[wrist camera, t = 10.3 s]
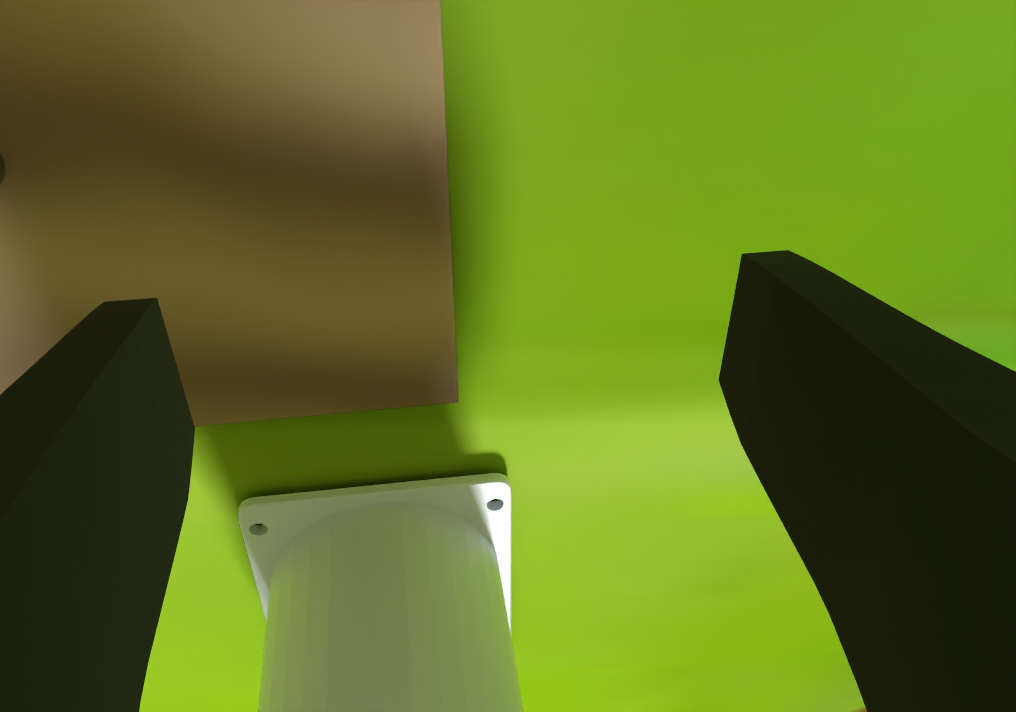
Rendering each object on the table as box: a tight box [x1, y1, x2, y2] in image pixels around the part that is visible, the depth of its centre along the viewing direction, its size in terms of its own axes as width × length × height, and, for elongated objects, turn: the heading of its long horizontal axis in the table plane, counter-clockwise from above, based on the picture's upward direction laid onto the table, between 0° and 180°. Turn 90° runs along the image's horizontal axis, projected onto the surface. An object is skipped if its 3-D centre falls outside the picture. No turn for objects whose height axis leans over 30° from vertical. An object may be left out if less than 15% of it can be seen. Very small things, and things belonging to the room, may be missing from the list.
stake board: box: [0, 0, 458, 426], centre depth 16 cm, size 15×16×7 cm
